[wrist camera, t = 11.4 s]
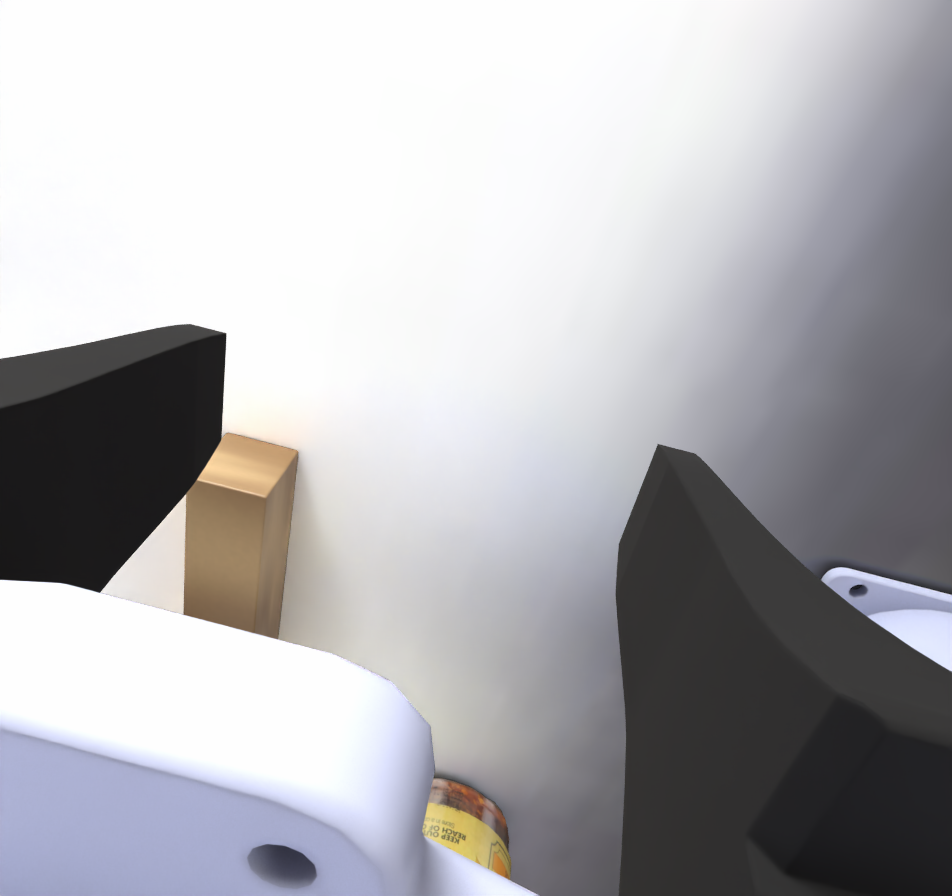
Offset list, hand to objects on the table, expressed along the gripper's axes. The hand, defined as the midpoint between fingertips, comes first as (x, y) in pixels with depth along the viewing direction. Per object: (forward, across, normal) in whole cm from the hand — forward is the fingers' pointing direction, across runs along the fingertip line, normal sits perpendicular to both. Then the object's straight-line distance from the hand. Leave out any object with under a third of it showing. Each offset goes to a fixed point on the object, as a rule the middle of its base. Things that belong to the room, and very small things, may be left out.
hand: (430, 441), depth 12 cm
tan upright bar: (+9, +6, +17) cm, 20 cm away
